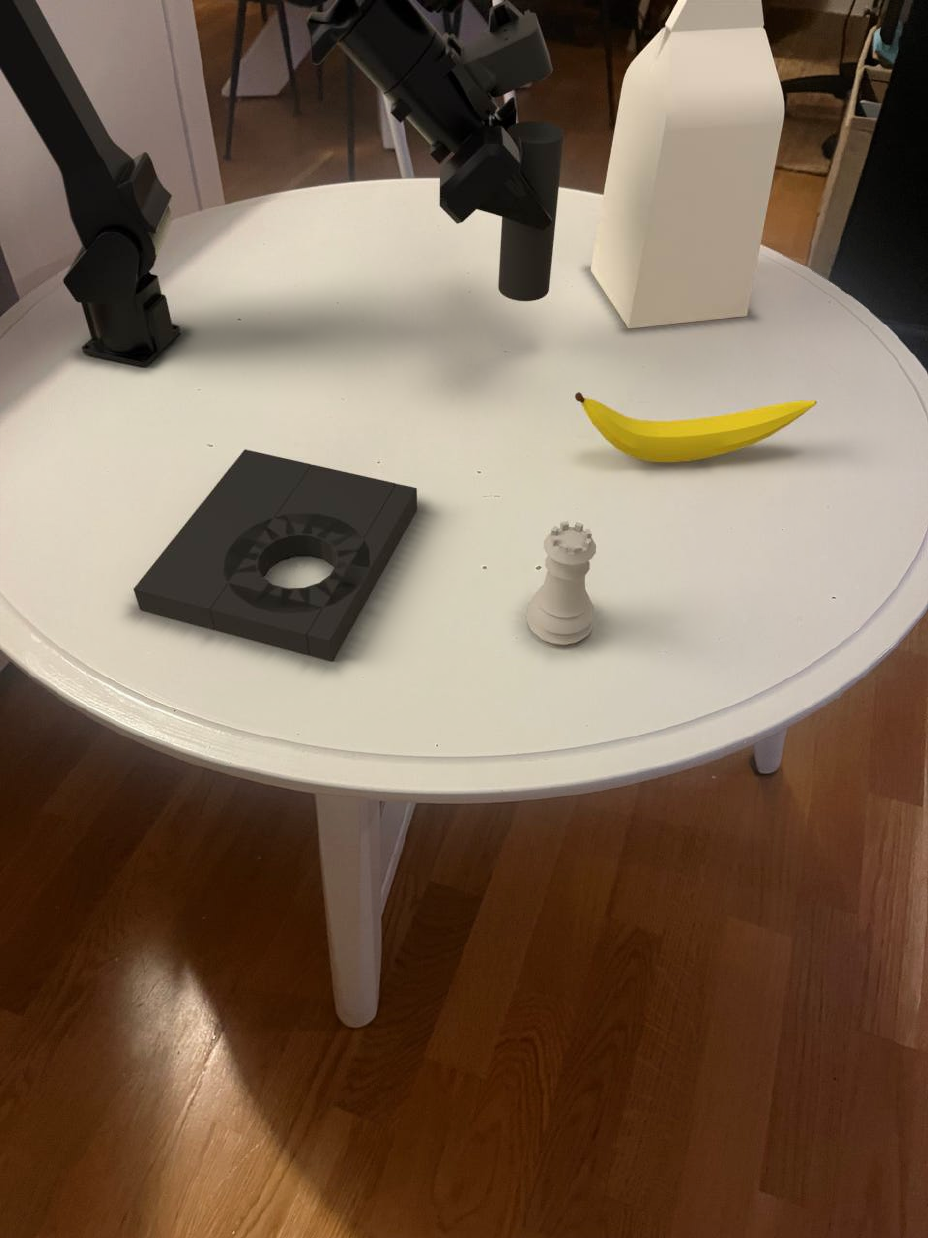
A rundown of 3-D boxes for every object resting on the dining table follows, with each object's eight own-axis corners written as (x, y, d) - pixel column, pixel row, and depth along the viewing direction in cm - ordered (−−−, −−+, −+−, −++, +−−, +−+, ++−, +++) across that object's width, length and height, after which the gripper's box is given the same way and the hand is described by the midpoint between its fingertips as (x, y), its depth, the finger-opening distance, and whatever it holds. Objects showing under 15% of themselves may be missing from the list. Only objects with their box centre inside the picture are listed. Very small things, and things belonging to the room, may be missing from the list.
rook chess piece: (522, 601, 67) (530, 512, 61) (586, 598, 67) (601, 509, 61) (530, 650, 64) (540, 561, 58) (598, 647, 64) (614, 558, 58)
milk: (628, 328, 91) (678, 13, 72) (590, 270, 99) (626, -29, 80) (746, 315, 93) (825, 5, 74) (700, 259, 101) (761, -35, 82)
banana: (805, 464, 78) (828, 396, 73) (570, 473, 76) (579, 405, 72) (793, 442, 80) (815, 374, 75) (564, 451, 78) (572, 383, 74)
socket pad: (139, 610, 65) (132, 588, 64) (248, 469, 76) (244, 448, 74) (332, 661, 63) (330, 641, 61) (417, 508, 73) (417, 487, 72)
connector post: (488, 289, 84) (495, 132, 75) (518, 271, 87) (528, 116, 77) (529, 307, 82) (542, 147, 73) (558, 287, 85) (574, 130, 75)
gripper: (494, 13, 61) (641, 194, 69) (486, -62, 74) (611, 98, 82) (373, 141, 66) (523, 294, 75) (385, 51, 79) (512, 190, 88)
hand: (545, 213), depth 80 cm, fingers closed on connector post, 4 cm apart
